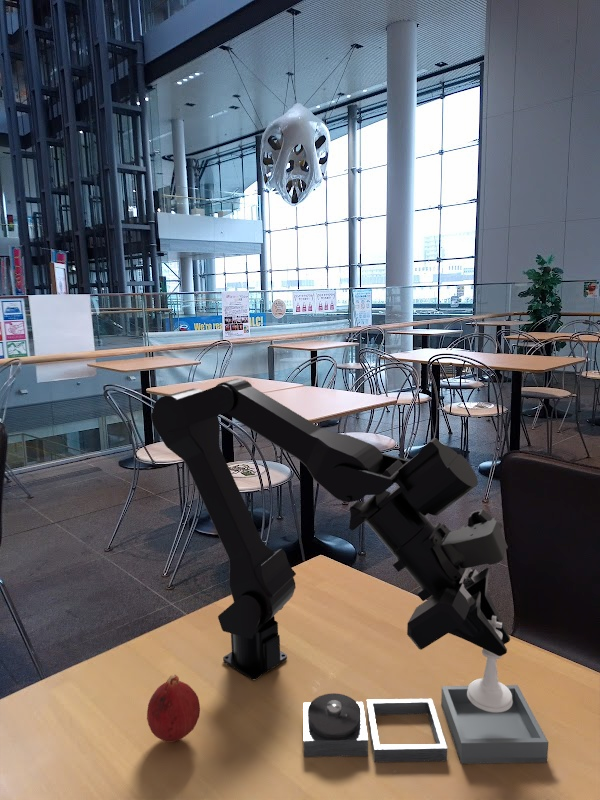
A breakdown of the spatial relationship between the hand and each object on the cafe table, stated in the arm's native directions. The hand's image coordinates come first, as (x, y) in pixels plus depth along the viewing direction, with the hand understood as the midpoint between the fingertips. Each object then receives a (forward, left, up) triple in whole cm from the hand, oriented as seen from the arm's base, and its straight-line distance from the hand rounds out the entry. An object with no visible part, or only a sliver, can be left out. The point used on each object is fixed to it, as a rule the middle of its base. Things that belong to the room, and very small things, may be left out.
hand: (505, 647), depth 66 cm
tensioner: (-11, -10, -11) cm, 18 cm away
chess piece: (-1, -1, -7) cm, 7 cm away
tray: (-1, 0, -11) cm, 11 cm away
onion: (-27, -25, -11) cm, 39 cm away
